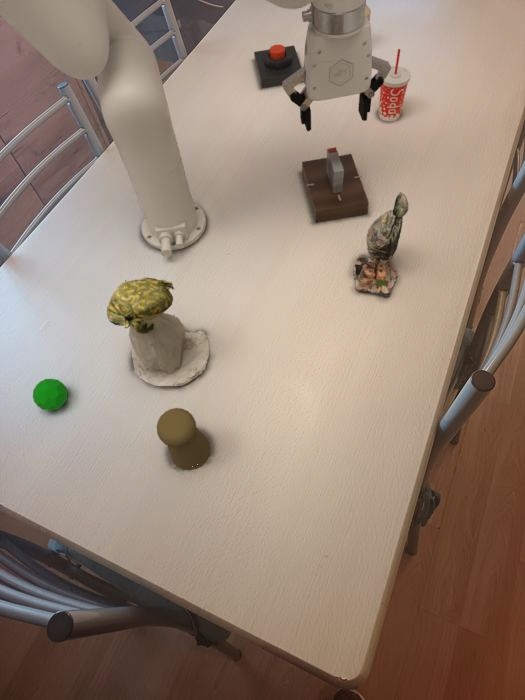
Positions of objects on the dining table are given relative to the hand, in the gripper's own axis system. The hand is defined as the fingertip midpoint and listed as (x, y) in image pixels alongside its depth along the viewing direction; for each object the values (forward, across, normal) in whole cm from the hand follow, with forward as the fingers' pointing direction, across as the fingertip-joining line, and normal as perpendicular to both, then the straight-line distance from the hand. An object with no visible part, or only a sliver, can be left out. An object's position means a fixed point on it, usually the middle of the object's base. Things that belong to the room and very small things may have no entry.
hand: (334, 121), depth 86 cm
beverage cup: (+16, +17, +20) cm, 31 cm away
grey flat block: (+12, 0, -1) cm, 12 cm away
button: (+12, -4, +43) cm, 45 cm away
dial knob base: (+15, 0, -1) cm, 15 cm away
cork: (+15, -32, -49) cm, 60 cm away
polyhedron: (+15, -53, -36) cm, 66 cm away
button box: (+15, -4, +43) cm, 46 cm away
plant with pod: (+16, +3, -22) cm, 27 cm away
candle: (+16, +16, +47) cm, 52 cm away
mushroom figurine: (+15, -34, -32) cm, 49 cm away
